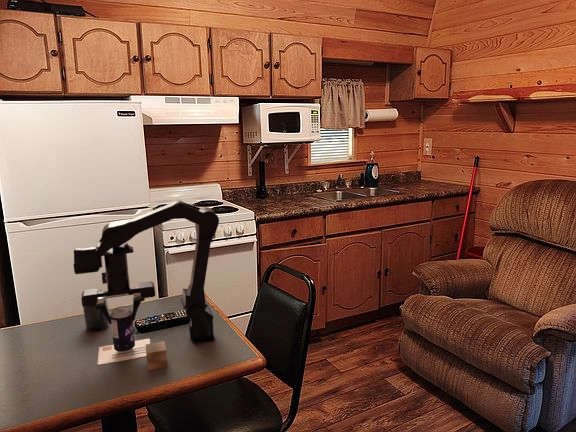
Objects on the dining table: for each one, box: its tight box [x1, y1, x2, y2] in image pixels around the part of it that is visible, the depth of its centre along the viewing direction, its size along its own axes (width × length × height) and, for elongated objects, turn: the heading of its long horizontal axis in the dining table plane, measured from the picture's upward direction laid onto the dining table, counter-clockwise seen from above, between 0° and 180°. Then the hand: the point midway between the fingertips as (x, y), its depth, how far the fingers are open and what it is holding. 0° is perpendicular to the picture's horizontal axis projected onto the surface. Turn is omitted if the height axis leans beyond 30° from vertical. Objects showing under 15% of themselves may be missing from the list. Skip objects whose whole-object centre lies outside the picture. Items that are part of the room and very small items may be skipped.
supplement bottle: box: [82, 288, 110, 332], centre depth 140 cm, size 7×7×12 cm
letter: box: [97, 338, 151, 366], centre depth 127 cm, size 14×10×1 cm
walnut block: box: [145, 341, 168, 371], centre depth 120 cm, size 5×5×5 cm
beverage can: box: [110, 305, 136, 353], centre depth 125 cm, size 6×6×12 cm
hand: (122, 321), depth 125 cm, fingers closed on beverage can, 6 cm apart
